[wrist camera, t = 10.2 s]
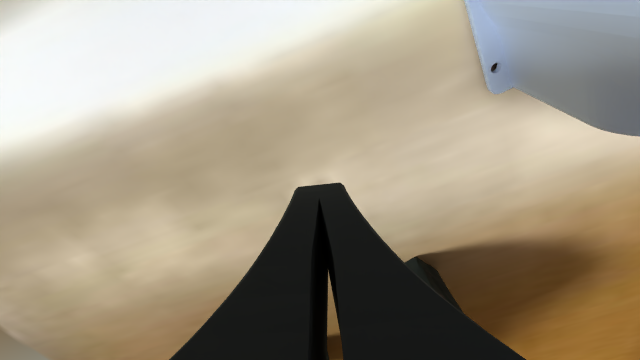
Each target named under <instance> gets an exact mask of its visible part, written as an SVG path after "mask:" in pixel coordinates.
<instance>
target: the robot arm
mask: <svg viewBox="0 0 640 360" xmlns="http://www.w3.org/2000/svg"><path fill="white" fill-rule="evenodd" d="M464 1H465V5H466V9H467V13H468V17H469V20H470V24H471V28H472V32H473V35H474V39H475V43H476V47H477V51H478V54H479V58H480V62H481V66H482V69H483V73H484V77H485V81H486V84H487V88H488V90H489V91H490V92H492V93H494V94H500V93H503V92H505V91H507V90H509V89H511V88H513V87H514V88H516V89H518V90H520V91H522V92H524V93H526V94H528V95H530V96H532V97H534V98H536V99H538V100H540V101H542V102H544V103H546V104H548V105H550V106H552V107H554V108H556V109H558V110H560V111H562V112H564V113H566V114H568V115H570V116H572V117H574V118H576V119H578V120H580V121H582V122H584V123H586V124H588V125H590V126H593V127H595V128H598V129H601V130H604V131H608V132H612V133H617V134H623V135H630V136H640V0H464ZM495 63H497V68H496V69H495V70H494V71H491V67H492V65H493V64H495ZM328 270H329V276H330V281H331V286H332V292H333V297H334V303H335V308H336V313H337V319H338V324H339V329H340V335H341V340H342V349H343V360H526V359H525V358H523V357H522V356H520V355H519V354H518V353H516V352H515V351H513V350H512V349H510V348H509V347H508V346H506V345H505V344H503V343H502V342H501V341H499V340H498V339H496V338H495V337H494V336H492V335H491V334H489V333H488V332H487V331H485V330H484V329H483V328H482V327H480V326H479V325H478V324H476V323H475V322H474V321H473V320H471V319H470V318H469V317H467V316H466V315H465V314H463V313H462V312H461V311H460V310H458V309H457V308H456V307H454V306H453V305H452V304H451V303H449V302H448V301H447V300H445V299H444V298H443V297H442V296H441V295H439V294H438V293H437V292H436V291H435V290H434V289H433V288H431V287H430V286H429V285H428V284H427V283H426V282H424V281H423V280H422V279H421V278H420V277H419V276H418V275H417V274H416V273H415V272H414V271H412V270H411V269H410V268H409V267H408V266H407V265H406V264H405V263H404V262H403V261H402V260H401V259H400V258H399V257H398V256H397V255H396V254H395V253H394V252H393V251H392V250H391V249H390V247H389V246H388V245H387V244H386V243H385V242H384V241H383V240H382V239H381V238H380V236H379V235H378V234H377V233H376V232H375V230H374V229H373V228H372V227H371V226H370V224H369V223H368V222H367V220H366V219H365V218H364V217H363V215H362V214H361V213H360V211H359V210H358V209H357V207H356V206H355V204H354V203H353V201H352V200H351V198H350V196H349V195H348V193H347V191H346V189H345V187H344V185H342V184H341V183H332V184H322V185H313V186H303V187H298V188H297V189H296V190H295V191H294V194H293V197H292V199H291V201H290V203H289V205H288V207H287V209H286V211H285V213H284V215H283V217H282V219H281V221H280V222H279V224H278V226H277V228H276V229H275V231H274V233H273V235H272V236H271V238H270V240H269V241H268V243H267V244H266V246H265V247H264V249H263V250H262V252H261V253H260V255H259V256H258V258H257V259H256V261H255V262H254V264H253V265H252V266H251V268H250V269H249V271H248V272H247V273H246V275H245V276H244V277H243V279H242V280H241V281H240V282H239V284H238V285H237V286H236V287H235V289H234V290H233V291H232V293H231V294H230V295H229V296H228V297H227V299H226V300H225V301H224V302H223V303H222V304H221V305H220V307H219V308H218V309H217V310H216V311H215V312H214V313H213V315H212V316H211V317H210V318H209V319H208V320H207V321H206V323H205V324H204V325H203V326H202V327H201V328H200V329H199V330H198V331H197V332H196V333H195V334H194V335H193V337H192V338H191V339H190V340H189V341H188V342H187V343H186V344H185V345H184V346H183V347H182V348H181V349H180V350H179V351H178V352H177V353H176V354H175V355H173V356H172V357H171V358H170V359H169V360H327V306H328Z"/></svg>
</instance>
